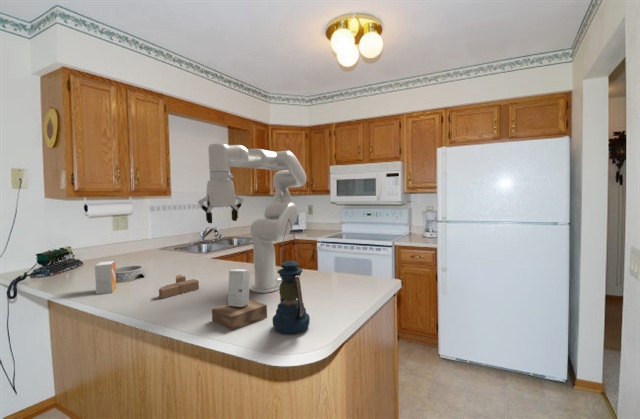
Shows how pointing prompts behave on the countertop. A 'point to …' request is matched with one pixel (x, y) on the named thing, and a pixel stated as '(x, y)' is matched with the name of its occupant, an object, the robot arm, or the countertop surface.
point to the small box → (105, 277)
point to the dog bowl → (129, 273)
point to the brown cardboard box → (239, 314)
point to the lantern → (290, 299)
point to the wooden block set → (178, 287)
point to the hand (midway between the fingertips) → (222, 221)
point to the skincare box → (238, 287)
